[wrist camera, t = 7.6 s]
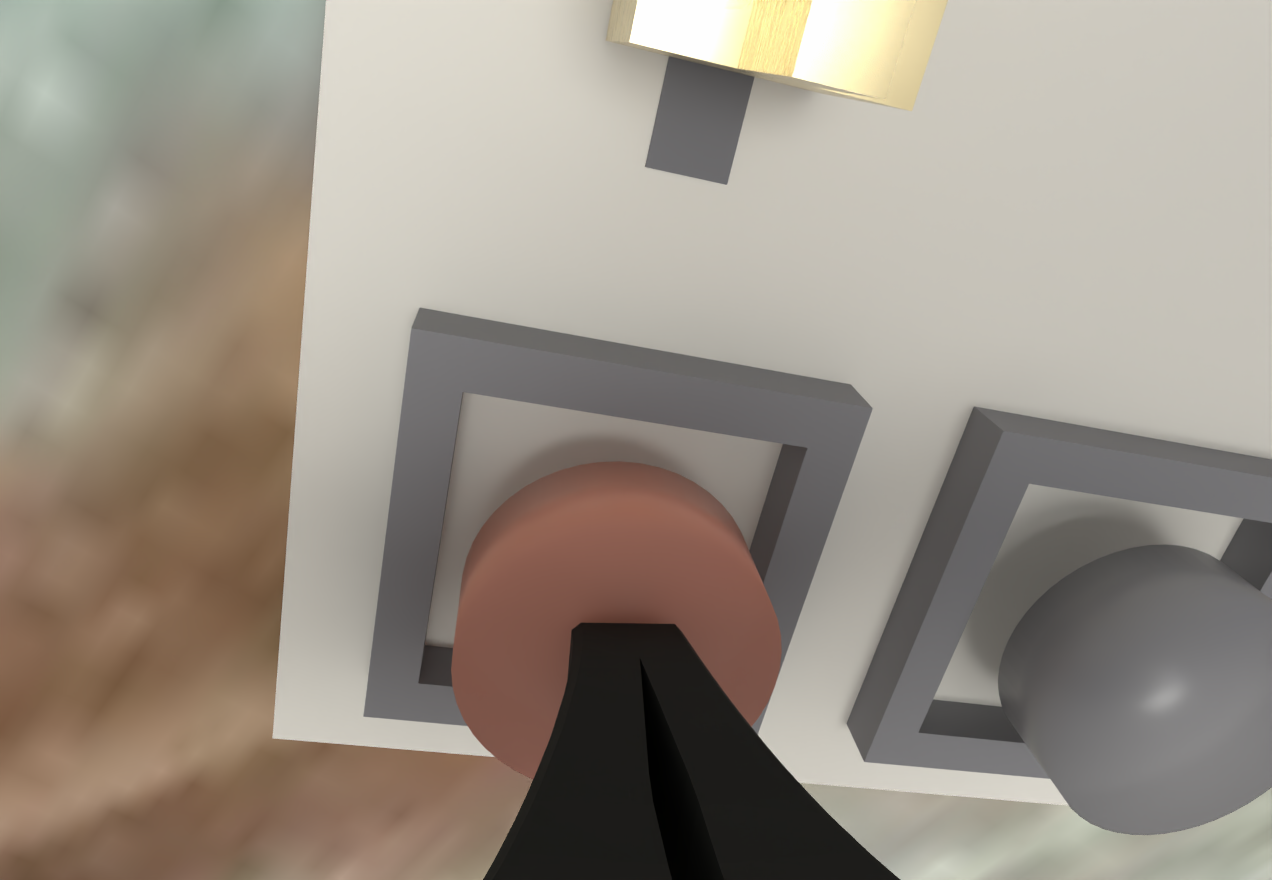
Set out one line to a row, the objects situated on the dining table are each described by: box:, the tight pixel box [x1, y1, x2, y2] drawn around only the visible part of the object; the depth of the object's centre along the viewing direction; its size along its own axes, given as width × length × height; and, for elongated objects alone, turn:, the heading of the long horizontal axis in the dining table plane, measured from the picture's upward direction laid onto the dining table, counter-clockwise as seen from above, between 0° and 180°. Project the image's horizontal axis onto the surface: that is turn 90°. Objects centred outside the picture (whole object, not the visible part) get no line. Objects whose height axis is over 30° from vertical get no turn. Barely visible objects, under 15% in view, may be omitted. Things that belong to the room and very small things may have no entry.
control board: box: [273, 0, 1272, 805], centre depth 13 cm, size 18×24×3 cm
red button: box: [451, 461, 782, 779], centre depth 12 cm, size 4×4×2 cm
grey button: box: [998, 544, 1272, 835], centre depth 14 cm, size 4×4×2 cm
